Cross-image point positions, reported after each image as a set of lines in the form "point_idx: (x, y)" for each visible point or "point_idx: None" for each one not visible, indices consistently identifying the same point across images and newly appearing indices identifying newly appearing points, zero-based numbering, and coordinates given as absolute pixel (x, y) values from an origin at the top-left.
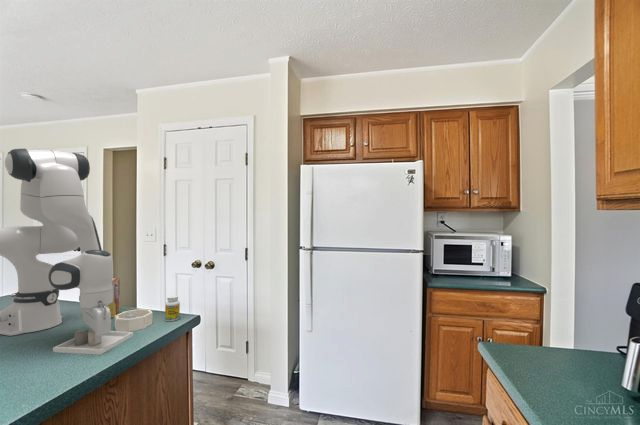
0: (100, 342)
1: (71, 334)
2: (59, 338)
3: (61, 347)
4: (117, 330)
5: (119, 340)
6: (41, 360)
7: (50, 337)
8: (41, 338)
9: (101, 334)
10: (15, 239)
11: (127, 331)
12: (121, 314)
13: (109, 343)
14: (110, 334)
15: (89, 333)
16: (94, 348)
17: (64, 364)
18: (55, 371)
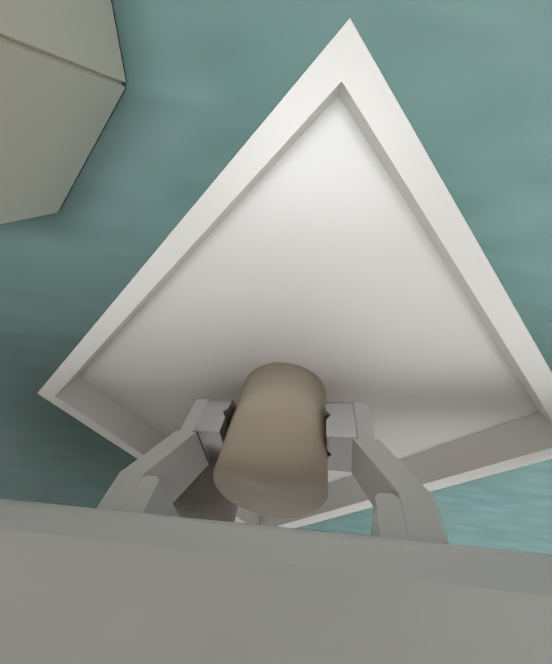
0: (310, 378)
1: (14, 421)
2: (60, 457)
3: (286, 526)
4: (42, 205)
5: (495, 278)
6: (309, 527)
7: (34, 471)
8: (37, 486)
9: (406, 475)
10: None
11: (102, 95)
12: None
13: (370, 328)
14: (156, 288)
15: (286, 514)
16: (383, 413)
17: (451, 506)
18: (501, 533)
